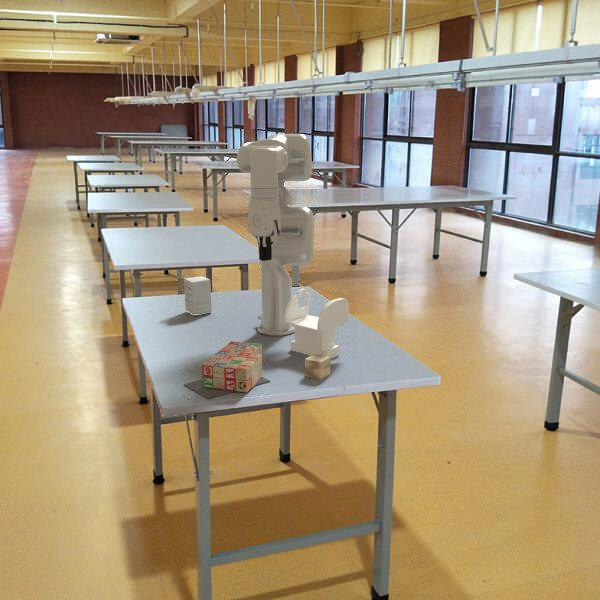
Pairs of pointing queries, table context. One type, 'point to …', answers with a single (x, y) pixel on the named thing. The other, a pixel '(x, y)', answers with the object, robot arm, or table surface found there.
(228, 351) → the stack of blocks
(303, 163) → the robot arm
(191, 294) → the supplement box
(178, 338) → the table surface
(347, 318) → the white plastic bracket
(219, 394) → the rubber mat
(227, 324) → the table surface
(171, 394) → the table surface
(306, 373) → the beech block
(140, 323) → the table surface
